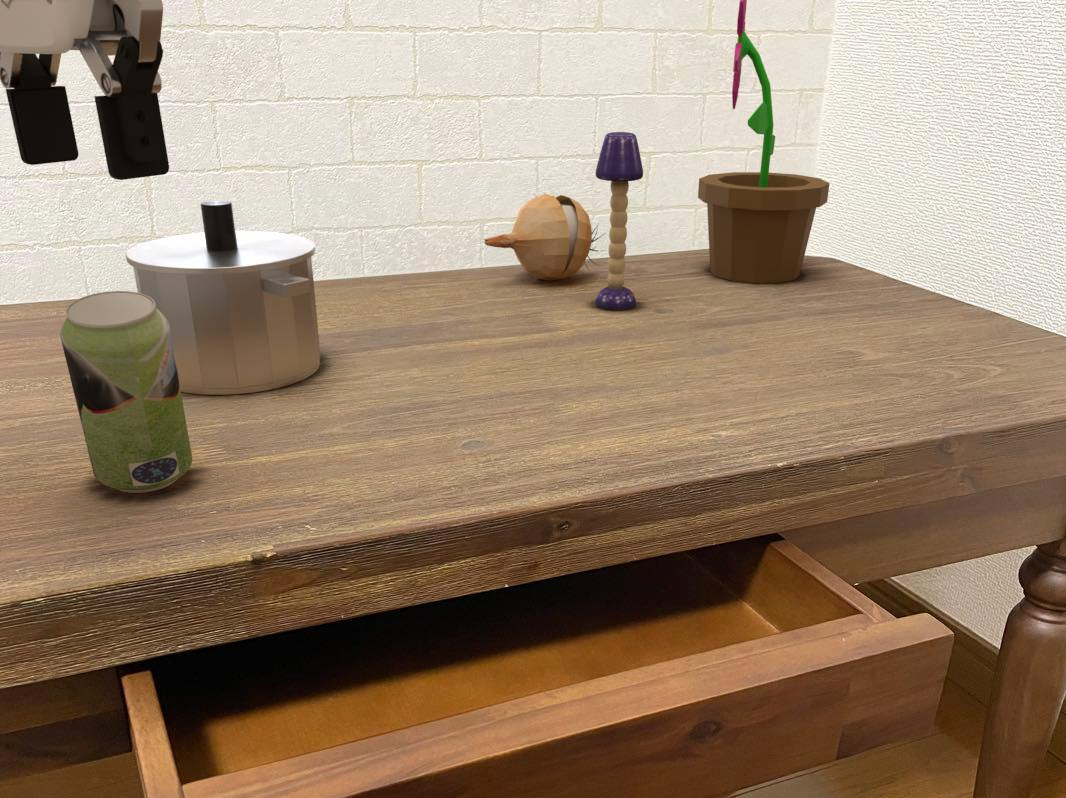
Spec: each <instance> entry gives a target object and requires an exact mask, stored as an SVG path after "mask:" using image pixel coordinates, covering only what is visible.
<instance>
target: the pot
mask: <svg viewBox="0 0 1066 798" xmlns="http://www.w3.org/2000/svg"><path fill="white" fill-rule="evenodd" d="M312 261H313V260H312V256H311V257H310V258H308V259H306V260H304V261H301V262H298V263H295V264H292V265H288V266H284V267H279V268H274V269H268V270H261V271H254V272H245V273H233V274H216V275H183V274H167V273H158V272H151V271H146V270H142V269H138V268H135V267H133V266H132V267H133V272H134V273H133V275H134V278H135V279H134V280H135V285H136V292H137V293H141V294H144V295H147V296H149V297H150V298H152V299H153V300H154V302H155V305H156V308H157V309H158V310H159V311H160V312H161V313H162V314H163V315H164V316H165V318H166V319H167V321H168V323H169V327H170V332H171V338H172V344H173V349H174V355H175V361H176V367H177V372H178V378H179V384H180V390H181V393H186V394H192V395H193V394H194V395H205V396H206V395H208V396H219V395H220V396H224V395H225V396H226V395H227V396H228V395H229V396H230V395H243V394H252V393H258V392H260V393H261V392H266V391H271V390H276V389H280V388H283V387H287V386H290V385H293V384H296V383H299V382H301V381H304V380H306V379H308V378H309V377H311V376H313V375H314V374H315V373H316V372H317V371H318V370H319V369H320V366H321V362H320V361H321V360H320V359H321V356H322V355H321V345H320V335H319V324H318V314H317V313H318V312H317V303H316V292H315V283H314V281H315V280H314V269H313V262H312Z"/></svg>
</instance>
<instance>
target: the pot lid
mask: <svg viewBox="0 0 1066 798" xmlns="http://www.w3.org/2000/svg"><path fill="white" fill-rule="evenodd" d="M200 211H201V218H202V224H203V232H197V233H196V232H195V233H187V234H180V235H179V234H178V235H172V236H166V237H161V238H156V239H153V240H148V241H144V242H142V243H138V244H137V245H134V246H133V247H130V248H129V249H128V250H127V251H126V252H125V258H126V259H125V260H126V262H127V264H129V265H130V266H131V267H135V268H138V269H142V270H146V271H151V272H158V273H167V274H183V275H216V274H233V273H245V272H254V271H261V270H268V269H274V268H279V267H284V266H288V265H292V264H295V263H298V262H301V261H304V260H306V259H308V258H310V257H311V258H312V257H313V256H314V255H315V253H316V244H315V242H313V240H311V239H309V238H306V237H304V236H300V235H297V234H291V233H283V232H275V231H263V230H262V231H258V230H236V223H235V222H236V221H235V216H234V207H233V202H232V201H230V200H221V199H220V200H207V201H203V202H200Z"/></svg>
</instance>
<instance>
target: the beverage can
mask: <svg viewBox="0 0 1066 798" xmlns="http://www.w3.org/2000/svg"><path fill="white" fill-rule="evenodd" d="M65 316H66V318H65V320H64V322H63V324H62V326H61V329H60V342H61V345H62V350H63V353H64V357H65V361H66V366H67V370H68V375H69V378H70V382H71V387H72V390H73V394H74V400H75V403H76V408H77V412H78V417H79V420H80V424H81V428H82V431H83V436H84V440H85V445H86V449H87V453H88V457H89V462H90V465H91V469H92V474H93V476H94V477H95V479H96V480H97V481H98V482H99V483H101V484H102V485H104V486H106V487H109V488H112V489H116V490H118V491H120V492H124V493H129V494H144V493H153V492H154V491H155V492H156V491H159V490H162V489H165V488H168V487H170V486H171V485H172V484H174V483H175V482H177V481H178V480H179V479H180V478H182V477H183V476H184V475H185V474H186V473H187V472H188V471H189V470H190V468H191V466H192V464H193V453H192V448H191V443H190V437H189V430H188V426H187V420H186V414H185V408H184V402H183V397H182V396H183V395H182V392H181V390H180V384H179V378H178V372H177V367H176V361H175V355H174V349H173V344H172V338H171V332H170V327H169V323H168V321H167V319H166V318H165V316H164V315H163V314H162V313H161V312H160V311H159V310H158V309H157V308H156V305H155V302H154V300H153V299H152V298H150V297H149V296H147V295H144V294H141V293H138V291H129V290H110V291H103V292H95V293H92V294H89V295H85V296H82V297H80V298H78V299H76V300H73V301H72V302H71V303H70V304H69V305H68V306H67V307H66V309H65Z"/></svg>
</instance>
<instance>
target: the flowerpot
mask: <svg viewBox="0 0 1066 798" xmlns="http://www.w3.org/2000/svg"><path fill="white" fill-rule="evenodd" d="M747 4H748V0H739V4H738V12H737V24H736V34H737V41H736V43H735V46H734V55H733V69H732V72H733V76H732V77H733V79H732V88H731V89H732V90H731V93H732V94H731V97H732V98H731V99H732V110H736V106H737V102H738V98H739V89H740V84H741V77H742V63H743V59H745V57H746V56H748V57H749V58H750V60H752V61H751V62H752V64H753V67H754V70H755V72H756V76H757V77H758V81H759V84H760V86H761V95H762V103H761V104H759V106H758V107H757V108H756V109H755V111H754V112H753V113H752V114H751V116H750V117H749V118H748V119H747V126H748V127H749V128H750V129H751V130H752V131H753V132H754V133H756V135H763V142H762V150H761V161H760V171H754V172H753V171H752V172H751V171H745V172H743V171H738V172H737V171H732V172H721V173H711V174H708V175H707V174H706V175H705V176H702V177H700V178H698V187H697V188H698V190H697V198H698V199H699V200H700V201H702V202H703V203H704V204H706V208H707V209H706V210H707V211H706V212H707V230H708V253H709V272H710V273H711V274H712V275H713V276H714V277H718V278H720V279H725V280H728V281H732V282H733V281H734V282H741V283H748V284H749V283H750V284H777V283H778V284H779V283H784V282H790V281H794V280H796V279H797V278H798V277H799V276H800V275H801V272H802V266H803V264H804V260H805V255H806V251H807V247H808V243H809V240H810V235H811V231H812V228H813V223H814V219H815V215H816V210H817V208H821V207H822V206H824V205H826V204H827V203H828V199H829V192H830V184H831V183H830V182H828V181H826V180H824V179H822V178H820V177H814V176H808V175H803V174H795V173H784V172H783V173H781V172H770V165H771V164H770V163H771V156H772V155H773V154H774V150H775V144H776V135H774V115H773V113H774V112H773V103H772V100H773V99H772V89H771V82H770V80H769V79H770V78H769V77H768V74H767V71H766V68H765V66H764V63H763V60H762V58H761V55H760V53H759V51H758V50H757V49H756V47H755V45H754V44H753V43H752V41H751V39H750V38H749V37H748V35H747V33H746V13H747Z"/></svg>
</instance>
